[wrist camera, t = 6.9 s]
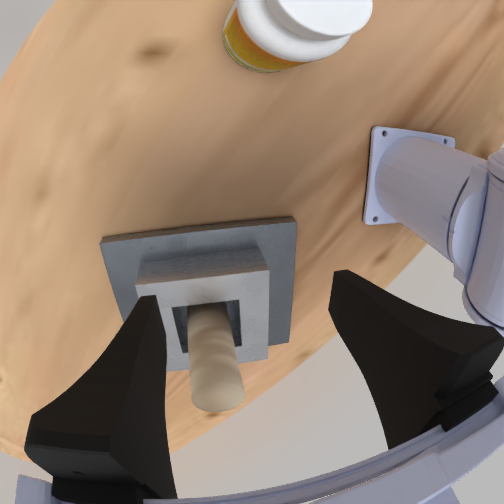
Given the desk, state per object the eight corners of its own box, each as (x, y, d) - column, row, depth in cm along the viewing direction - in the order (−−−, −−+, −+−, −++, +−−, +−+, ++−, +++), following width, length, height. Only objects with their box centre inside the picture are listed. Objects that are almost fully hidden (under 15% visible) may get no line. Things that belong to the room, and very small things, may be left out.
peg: (222, 282, 22) (242, 379, 15) (227, 312, 24) (247, 406, 16) (182, 289, 22) (186, 388, 14) (190, 319, 23) (198, 414, 16)
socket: (292, 216, 22) (312, 240, 19) (286, 335, 28) (298, 366, 24) (102, 237, 20) (88, 265, 16) (139, 352, 26) (136, 386, 22)
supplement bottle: (296, 81, 17) (380, 73, 9) (214, 65, 16) (237, 31, 8) (309, 13, 15) (393, -31, 7) (230, -6, 14) (265, -79, 5)
